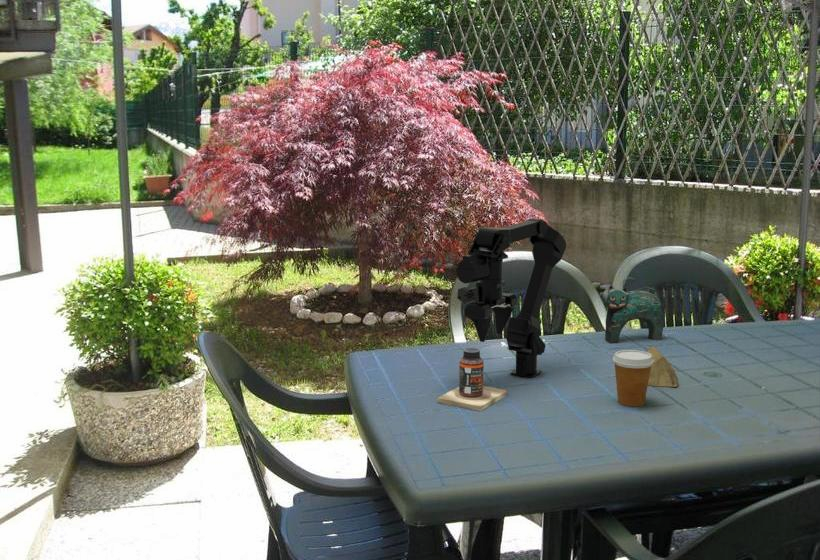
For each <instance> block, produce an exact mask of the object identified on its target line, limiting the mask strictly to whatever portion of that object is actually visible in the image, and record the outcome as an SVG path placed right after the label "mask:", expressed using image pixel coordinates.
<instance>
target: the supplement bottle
mask: <svg viewBox="0 0 820 560" xmlns="http://www.w3.org/2000/svg"><path fill="white" fill-rule="evenodd" d="M480 352H481V350H480V349H479V348H472V347H468V348H467V347H466V348H464V349H463V354H462V355H463V356H462V357H460V359H459V364H458V365H459V366H458V367H459V369H458V370H459V371H458V372H459V373H458V374H459V377H458V381H459V382H458V387H459V393H460V394H461V395H462V396H465V397H478V396H481V395H482V394H483V386H485V385H484V366H485V365H484V363H485V362H484V359H483V358H482V357H481V356H480V355H481V353H480Z"/></svg>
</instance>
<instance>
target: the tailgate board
mask: <svg viewBox="0 0 820 560" xmlns="http://www.w3.org/2000/svg"><path fill="white" fill-rule="evenodd" d="M508 393H509V392H508V389H505V388H501V387H490V386H485V385H483V394H482V395H481V396H478V397H465V396H462V395H461V394H460V393H459V386H457V387H456V388H454V389H452V390H449V391H447V392H446V393H444V394H442V395H440V396H438V397H437V398H436V399H437V400H436V401H437V402H436V403H437V404H443V405H447V406H453V407H458V408H463V409H467V410H472V411H478V412H482V411H484V410H485V409H488V407H490V406H492V405H494V404H495V403H498V402H499V401H500V400H502V399H503V398H505V397H507V396H508V395H509V394H508Z"/></svg>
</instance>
